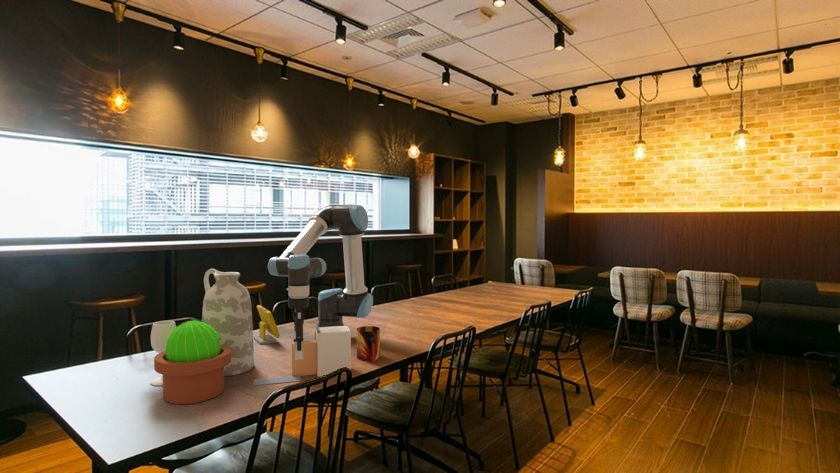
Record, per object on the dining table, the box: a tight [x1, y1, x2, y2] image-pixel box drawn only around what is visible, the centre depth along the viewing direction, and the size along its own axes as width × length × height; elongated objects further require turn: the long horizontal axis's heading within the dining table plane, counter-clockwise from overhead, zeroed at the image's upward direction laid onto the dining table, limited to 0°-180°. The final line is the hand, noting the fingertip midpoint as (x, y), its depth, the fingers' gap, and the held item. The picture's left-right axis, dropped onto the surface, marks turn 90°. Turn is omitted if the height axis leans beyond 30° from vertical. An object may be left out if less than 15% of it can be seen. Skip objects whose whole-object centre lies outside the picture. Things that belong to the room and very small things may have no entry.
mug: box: [356, 325, 381, 362], centre depth 186 cm, size 10×14×12 cm
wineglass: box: [150, 320, 177, 387], centre depth 158 cm, size 9×9×21 cm
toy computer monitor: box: [253, 304, 281, 345], centre depth 211 cm, size 20×8×16 cm, turn 34°
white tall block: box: [315, 325, 352, 378], centre depth 170 cm, size 9×12×17 cm
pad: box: [253, 375, 302, 387], centre depth 160 cm, size 6×16×1 cm, turn 107°
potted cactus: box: [153, 318, 231, 405], centre depth 147 cm, size 22×22×25 cm
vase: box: [201, 268, 255, 377], centre depth 172 cm, size 20×19×38 cm
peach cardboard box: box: [291, 339, 317, 377], centre depth 168 cm, size 3×14×12 cm, turn 107°
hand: (298, 353), depth 166 cm, fingers open, 13 cm apart
